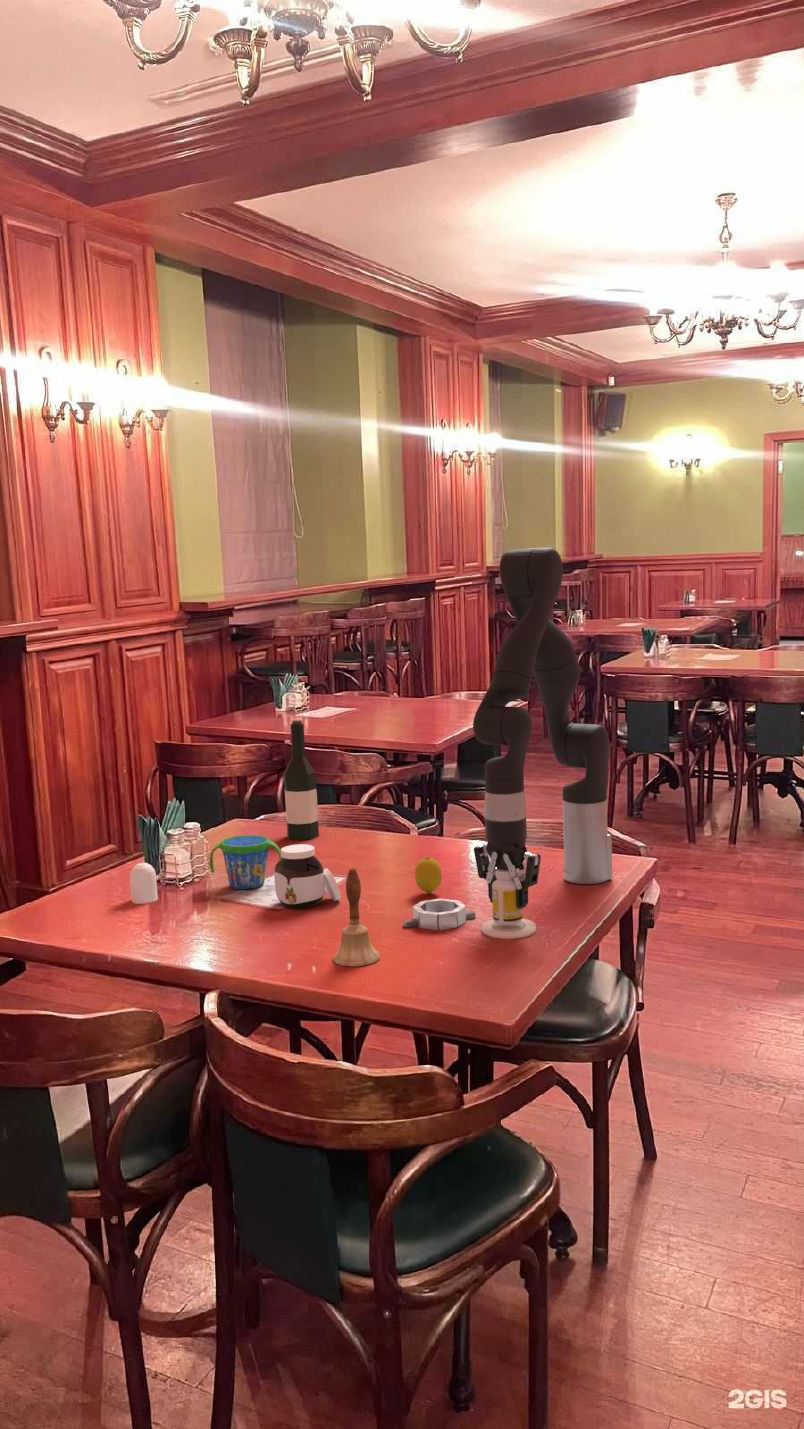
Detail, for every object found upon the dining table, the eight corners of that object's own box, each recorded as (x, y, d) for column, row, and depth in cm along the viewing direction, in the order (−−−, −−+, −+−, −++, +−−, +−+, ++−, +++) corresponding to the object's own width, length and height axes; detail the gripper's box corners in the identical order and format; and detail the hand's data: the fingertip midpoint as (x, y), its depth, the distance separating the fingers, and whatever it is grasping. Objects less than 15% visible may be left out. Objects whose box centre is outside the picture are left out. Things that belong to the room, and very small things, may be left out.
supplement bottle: (527, 919, 205) (526, 867, 204) (513, 927, 201) (512, 874, 200) (501, 915, 208) (500, 864, 207) (487, 923, 204) (486, 871, 203)
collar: (465, 910, 218) (464, 895, 218) (483, 923, 209) (482, 908, 209) (397, 919, 214) (396, 904, 214) (412, 934, 205) (411, 918, 205)
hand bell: (332, 952, 197) (327, 865, 195) (378, 949, 198) (374, 862, 196) (333, 968, 189) (328, 877, 187) (381, 965, 190) (377, 874, 188)
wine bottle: (283, 840, 281) (276, 723, 278) (291, 832, 290) (285, 718, 286) (315, 840, 280) (308, 722, 276) (322, 832, 288) (316, 718, 284)
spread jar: (270, 904, 228) (267, 848, 226) (311, 891, 236) (308, 837, 234) (309, 914, 219) (306, 857, 218) (350, 900, 228) (348, 845, 226)
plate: (522, 918, 211) (522, 914, 211) (544, 934, 202) (544, 929, 202) (473, 925, 208) (473, 921, 208) (493, 942, 199) (493, 937, 199)
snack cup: (287, 878, 246) (284, 833, 245) (278, 892, 236) (275, 845, 235) (217, 879, 248) (214, 835, 246) (206, 893, 237) (203, 847, 236)
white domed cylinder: (151, 904, 231) (148, 866, 230) (127, 903, 232) (124, 866, 231) (161, 896, 236) (159, 859, 235) (138, 896, 238) (135, 859, 236)
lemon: (440, 898, 227) (438, 860, 226) (413, 897, 228) (411, 859, 227) (444, 890, 232) (443, 853, 231) (418, 890, 233) (417, 852, 232)
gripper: (549, 815, 200) (552, 906, 202) (487, 806, 210) (490, 893, 212) (525, 823, 195) (527, 917, 197) (461, 814, 204) (465, 903, 207)
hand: (508, 904), depth 205 cm, fingers closed on supplement bottle, 5 cm apart
